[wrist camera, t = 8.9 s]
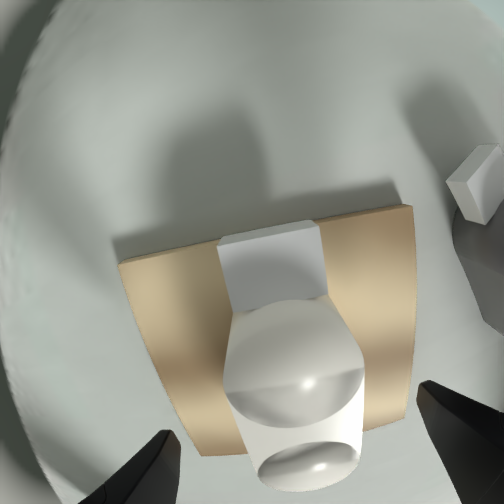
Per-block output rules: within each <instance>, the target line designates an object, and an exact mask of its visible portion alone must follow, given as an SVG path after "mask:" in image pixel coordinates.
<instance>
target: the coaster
mask: <svg viewBox="0 0 504 504" xmlns="http://www.w3.org/2000/svg"><path fill="white" fill-rule="evenodd" d="M313 222H314V223H316V224H317V225H318V226H319V229H320V235H321V241H322V248H323V255H324V262H325V269H326V277H327V285H328V293H329V294H328V295H329V297H330V298H331V300H332V301H333V303H334V305H335V306H336V308H337V310H338V311H339V313H340V315H341V316H342V318H343V320H344V322H345V323H346V325H347V327H348V328H349V330H350V332H351V333H352V335H353V337H354V339H355V340H356V342H357V344H358V345H359V347H360V350H361V352H362V354H363V358H364V410H363V428H362V432H364V431H367V430H371V429H374V428H377V427H380V426H383V425H386V424H389V423H392V422H395V421H398V420H401V419H403V418H404V416H405V411H406V405H407V400H408V393H409V387H410V379H411V372H412V363H413V353H414V342H415V327H416V303H417V267H416V243H415V228H414V217H413V207H412V206H411V205H406V204H400V205H394V206H389V207H383V208H377V209H372V210H366V211H361V212H355V213H350V214H345V215H339V216H334V217H329V218H323V219H318V220H313ZM220 240H221V239H218V240H213V241H208V242H204V243H199V244H194V245H190V246H185V247H180V248H176V249H171V250H166V251H162V252H157V253H153V254H148V255H144V256H139V257H135V258H130V259H126V260H124V261H122V262H121V263H119V264H118V265H117V266H118V269H119V272H120V276H121V279H122V282H123V285H124V288H125V291H126V294H127V297H128V300H129V303H130V305H131V308H132V311H133V314H134V316H135V319H136V322H137V324H138V327H139V330H140V332H141V335H142V337H143V340H144V342H145V345H146V347H147V350H148V352H149V354H150V357H151V359H152V361H153V364H154V366H155V368H156V370H157V373H158V375H159V377H160V379H161V381H162V384H163V386H164V388H165V390H166V392H167V394H168V396H169V398H170V400H171V402H172V404H173V406H174V408H175V410H176V412H177V414H178V416H179V418H180V420H181V422H182V423H183V425H184V427H185V429H186V431H187V433H188V434H189V436H190V438H191V440H192V442H193V443H194V445H195V447H196V449H197V450H198V452H199V454H200V455H201V456H223V455H238V454H248V452H247V449H246V447H245V444H244V442H243V439H242V437H241V434H240V432H239V429H238V427H237V424H236V421H235V419H234V416H233V414H232V411H231V408H230V405H229V403H228V400H227V397H226V395H225V391H224V387H223V372H224V366H225V359H226V353H227V347H228V341H229V334H230V328H231V322H232V316H233V310H232V307H231V303H230V299H229V295H228V291H227V287H226V283H225V279H224V275H223V271H222V267H221V262H220V258H219V254H218V250H217V245H218V243H219V242H220Z"/></svg>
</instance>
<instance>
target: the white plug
mask: <svg viewBox="0 0 504 504" xmlns="http://www.w3.org/2000/svg"><path fill="white" fill-rule="evenodd" d="M217 250H218V254H219V258H220V262H221V267H222V271H223V275H224V279H225V283H226V287H227V291H228V295H229V299H230V303H231V307H232V310H233V316H232V322H231V328H230V334H229V341H228V347H227V353H226V359H225V366H224V372H223V387H224V391H225V395H226V397H227V400H228V403H229V405H230V408H231V411H232V414H233V416H234V419H235V421H236V424H237V427H238V429H239V432H240V434H241V437H242V439H243V442H244V444H245V447H246V449H247V452H248V454H249V456H250V459H251V461H252V464H253V466H254V468H255V471H256V473H257V475H258V477H259V479H260V481H261V482H262V483H264V484H265V485H267V486H268V487H271V488H273V489H277V490H281V491H288V492H302V491H311V490H316V489H320V488H324V487H327V486H329V485H332V484H334V483H336V482H338V481H340V480H342V479H344V478H345V477H347V476H348V475H349V474H350V473H352V472H353V471H354V469H355V468H356V467H357V465H358V463H359V461H360V453H361V442H362V428H363V410H364V358H363V354H362V352H361V350H360V347H359V345H358V344H357V342H356V340H355V339H354V337H353V335H352V333H351V332H350V330H349V328H348V327H347V325H346V323H345V322H344V320H343V318H342V316H341V315H340V313H339V311H338V310H337V308H336V306H335V305H334V303H333V301H332V300H331V298H330V297H329V295H328V294H329V293H328V285H327V277H326V269H325V262H324V255H323V248H322V241H321V235H320V229H319V226H318V225H317V224H316V223H314V222H313V221H311V220H310V219H308V220H303V221H298V222H293V223H287V224H282V225H277V226H272V227H267V228H262V229H257V230H252V231H247V232H242V233H237V234H232V235H228V236H223V237H222V238H221V240H220V242H219V243H218V245H217Z"/></svg>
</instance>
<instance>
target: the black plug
mask: <svg viewBox="0 0 504 504" xmlns="http://www.w3.org/2000/svg"><path fill="white" fill-rule="evenodd" d="M446 183H447V185H448V187H449V189H450V190H451V192H452V194H453V196H454V198H455V200H456V202H457V204H458V207H457V210H456V212H455V216H454V221H453V229H452V236H453V244H454V248H455V251H456V253H457V256H458V258H459V260H460V262H461V264H462V266H463V269H464V271H465V273H466V276H467V278H468V280H469V283H470V285H471V288H472V290H473V293H474V295H475V298H476V301H477V303H478V306H479V309H480V311H481V314H482V317H483V319H484V321H485V322H486V323H488V324H489V325H490V326H492V327H493V328H494V329H495V330H497V331H498V332H499V333H501V334H502V335H503V336H504V154H503V152H502V150H501V148H500V146H499V144H486V145H478V146H477V147H476V148H475V149H474V150H473V151H472V153H471V154H470V155H469V156H468V157H467V158H466V159H465V160H464V162H463V163H462V164H461V165H460V166H459V167H458V168H457V169H456V170H455V171H454V172H453V173H452V174H451V176H450V177H449V178H448V179H447V180H446Z"/></svg>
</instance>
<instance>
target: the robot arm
mask: <svg viewBox="0 0 504 504" xmlns="http://www.w3.org/2000/svg"><path fill="white" fill-rule="evenodd" d="M416 401H417V405H418V408H419V410H420V413H421V416H422V418H423V421H424V424H425V426H426V429H427V432H428V434H429V436H430V438H431V440H432V442H433V444H434V446H435V448H436V450H437V452H438V454H439V456H440V458H441V460H442V462H443V464H444V466H445V468H446V470H447V472H448V475H449V477H450V479H451V481H452V483H453V485H454V487H455V490H456V492H457V494H458V496H459V498H460V501H461V503H462V504H504V413H502V412H499V411H498V410H495V409H493V408H491V407H488V406H486V405H484V404H482V403H479V402H477V401H475V400H473V399H470V398H468V397H466V396H464V395H462V394H459V393H457V392H455V391H453V390H451V389H449V388H446V387H444V386H442V385H440V384H438V383H436V382H434V381H431V380H427V381H424V382H422V383H420V384H419V387H418V393H417V398H416ZM180 456H181V445H180V442H179V440H178V439H177V437H176V435H175V434H174V432H173V431H172V430H160V431H159V432H158V433H157V434H156V435H155V436H154V437H153V438H152V439H151V440H150V441H149V442H148V443H147V444H146V445H145V446H144V447H143V448H142V449H141V450H139V451H138V452H137V453H136V454H135V455H134V456H133V457H132V458H131V459H130V460H129V461H128V462H127V463H126V464H125V465H123V466H122V467H121V468H120V469H119V470H118V471H117V472H116V473H115V474H114V475H112V476H111V477H110V478H109V479H108V480H107V481H106V482H105V483H104V484H102V485H101V486H100V487H99V488H98V489H96V490H95V491H94V492H93V493H92V494H90V495H89V496H88V497H86V498H85V499H83V500H82V501H81V502H79V503H78V504H175V503H176V497H177V491H178V486H179V477H180Z"/></svg>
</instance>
